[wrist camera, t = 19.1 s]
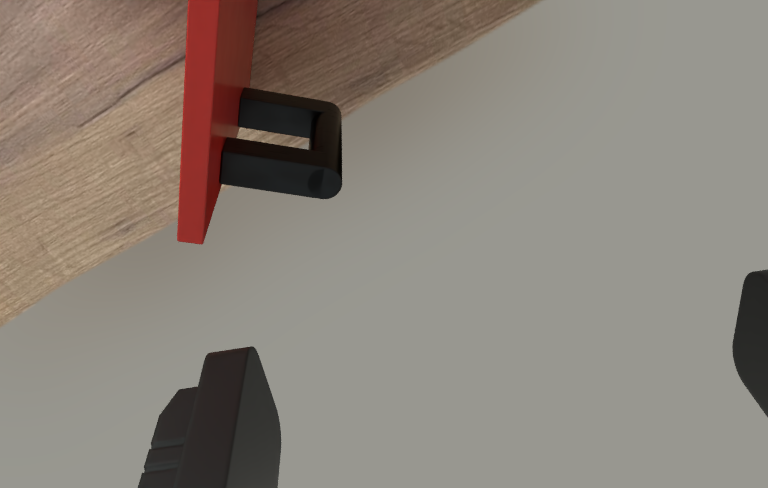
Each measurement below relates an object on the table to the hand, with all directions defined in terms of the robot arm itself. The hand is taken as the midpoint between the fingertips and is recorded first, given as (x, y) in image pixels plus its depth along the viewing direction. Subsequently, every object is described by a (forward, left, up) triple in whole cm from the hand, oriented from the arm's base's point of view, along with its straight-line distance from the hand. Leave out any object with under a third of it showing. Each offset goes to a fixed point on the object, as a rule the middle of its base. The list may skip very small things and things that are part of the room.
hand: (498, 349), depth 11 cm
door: (+5, -1, -30) cm, 30 cm away
